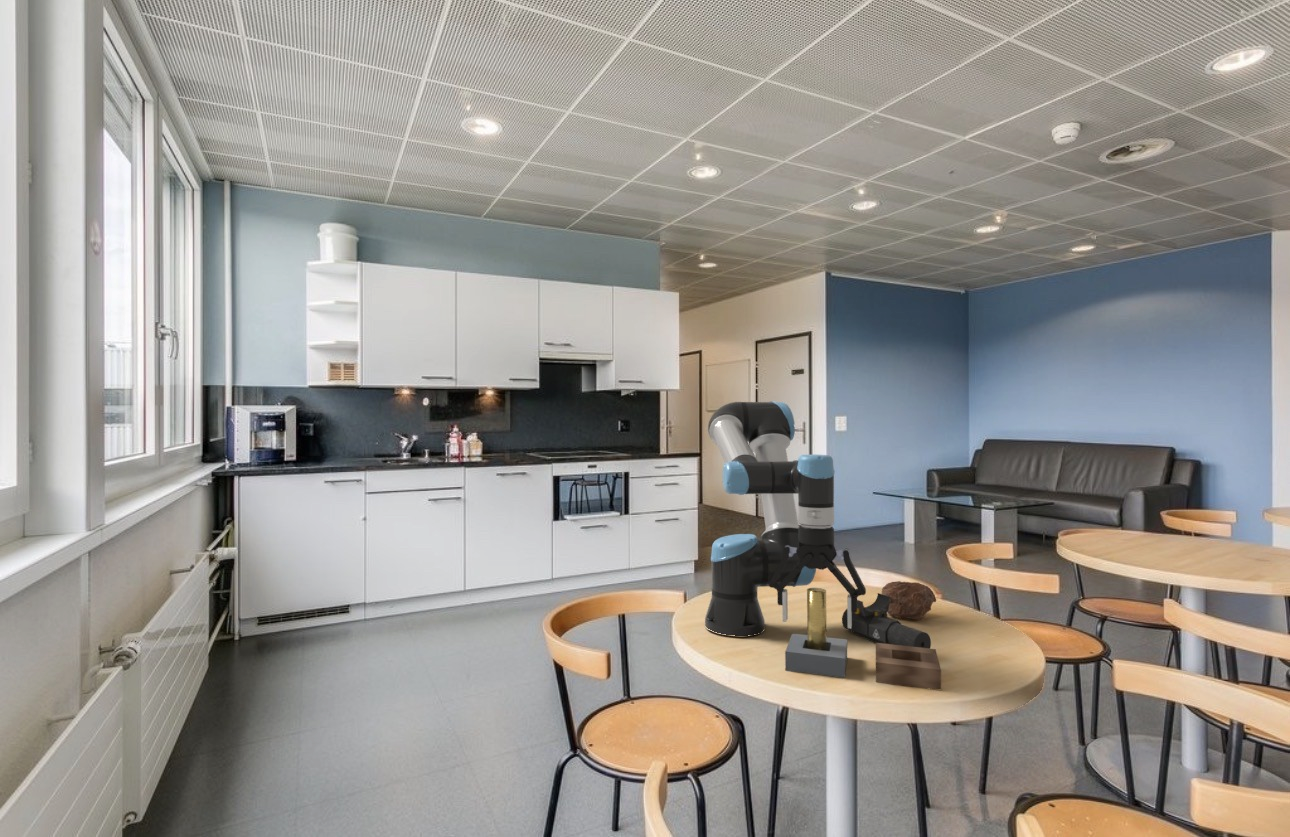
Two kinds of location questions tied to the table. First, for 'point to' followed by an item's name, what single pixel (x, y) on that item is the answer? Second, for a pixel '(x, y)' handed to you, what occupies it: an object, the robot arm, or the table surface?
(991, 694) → the table surface
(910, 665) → the dock block
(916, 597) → the brown lumpy rounded lump
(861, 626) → the laser sight
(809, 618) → the brass pin
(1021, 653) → the table surface
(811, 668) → the mount block
